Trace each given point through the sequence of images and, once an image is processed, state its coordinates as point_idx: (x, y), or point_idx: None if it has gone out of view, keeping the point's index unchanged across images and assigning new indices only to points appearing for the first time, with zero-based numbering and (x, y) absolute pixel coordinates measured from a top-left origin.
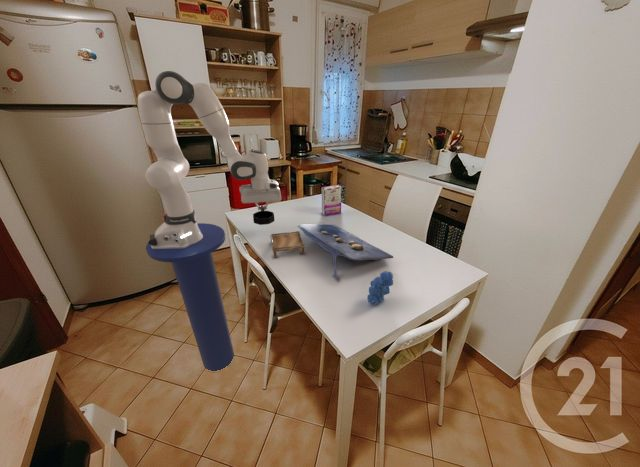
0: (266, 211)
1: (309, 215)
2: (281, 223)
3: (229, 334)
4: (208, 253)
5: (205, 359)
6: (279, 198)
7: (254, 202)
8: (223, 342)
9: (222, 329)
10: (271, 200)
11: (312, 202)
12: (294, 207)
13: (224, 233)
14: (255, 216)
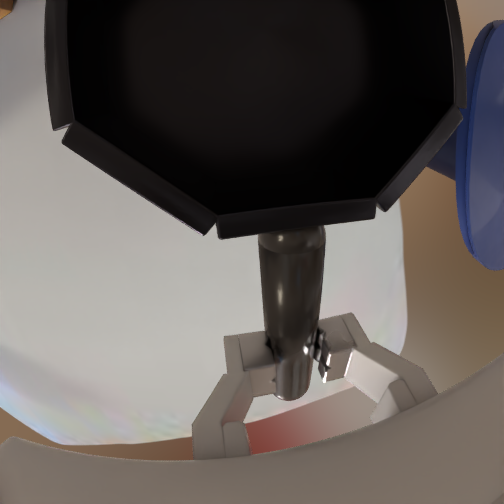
0: (222, 208)
1: (9, 339)
2: (116, 263)
3: None
4: (487, 24)
5: None
6: (2, 471)
7: (459, 384)
8: None
9: None
10: (125, 479)
11: (59, 423)
12: (108, 411)
13: (472, 153)
14: (407, 110)
